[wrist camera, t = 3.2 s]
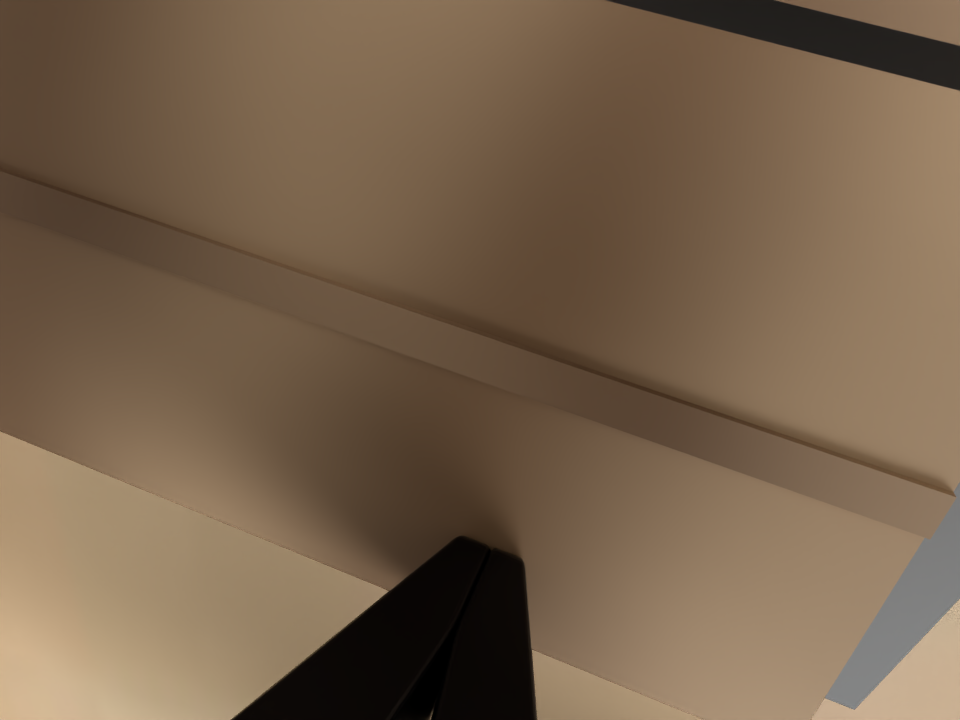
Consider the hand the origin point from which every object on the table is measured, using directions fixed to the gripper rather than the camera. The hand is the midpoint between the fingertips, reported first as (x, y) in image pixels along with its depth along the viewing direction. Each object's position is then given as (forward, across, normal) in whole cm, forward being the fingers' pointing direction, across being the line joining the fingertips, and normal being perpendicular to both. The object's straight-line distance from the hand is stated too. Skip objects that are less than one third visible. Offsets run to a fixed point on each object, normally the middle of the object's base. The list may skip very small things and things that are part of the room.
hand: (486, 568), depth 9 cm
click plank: (+2, +6, -2) cm, 7 cm away
